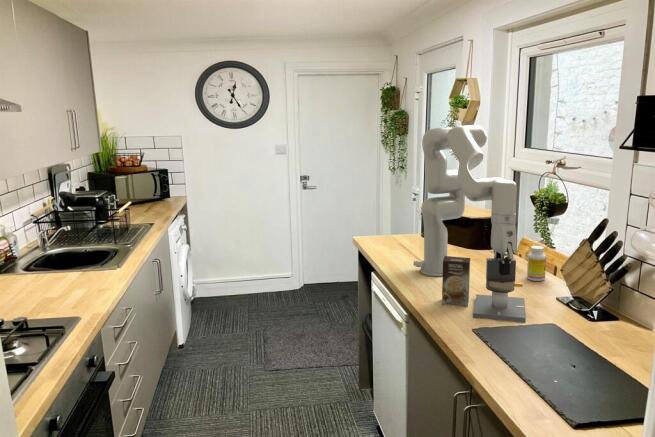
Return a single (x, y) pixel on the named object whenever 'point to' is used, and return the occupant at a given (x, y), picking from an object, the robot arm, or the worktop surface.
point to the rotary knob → (500, 276)
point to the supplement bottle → (536, 264)
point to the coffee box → (455, 281)
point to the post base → (505, 312)
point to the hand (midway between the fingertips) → (501, 272)
